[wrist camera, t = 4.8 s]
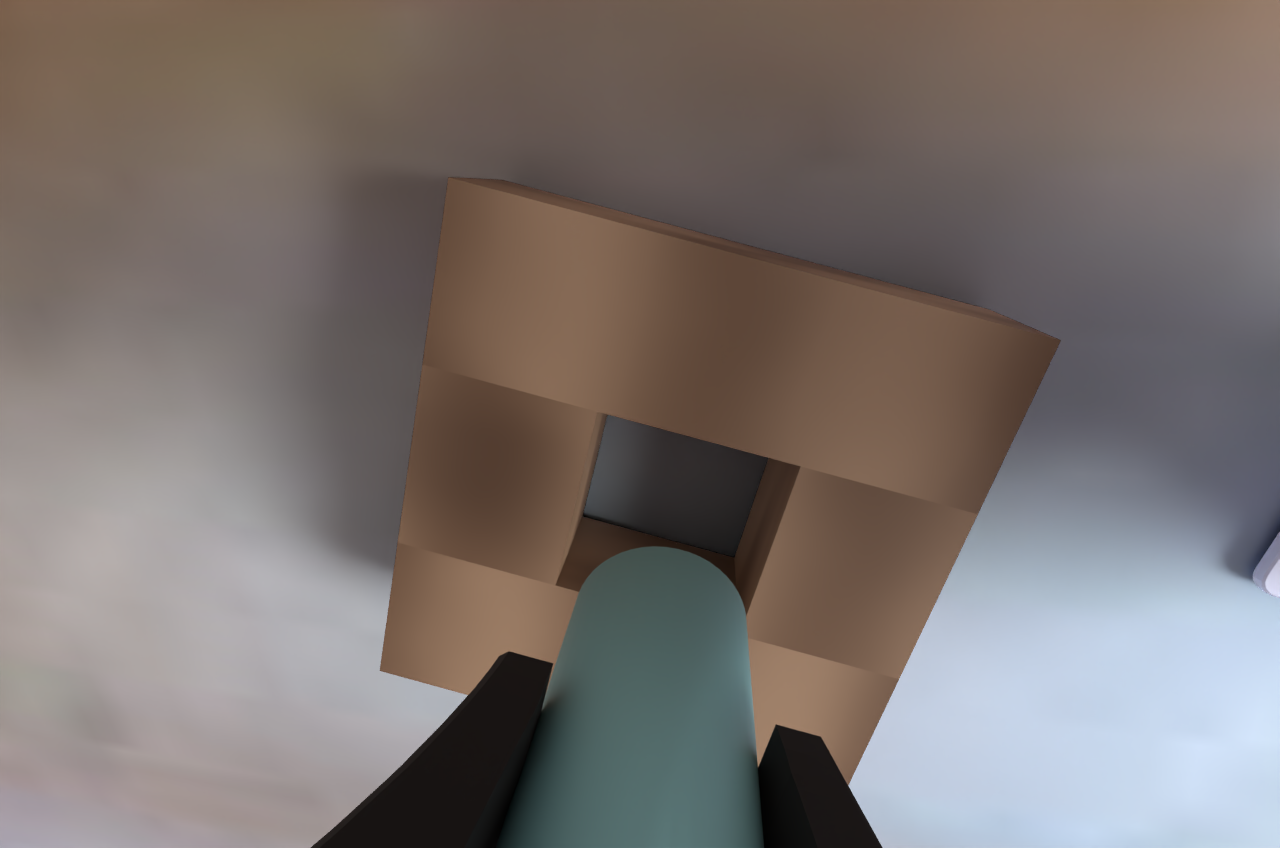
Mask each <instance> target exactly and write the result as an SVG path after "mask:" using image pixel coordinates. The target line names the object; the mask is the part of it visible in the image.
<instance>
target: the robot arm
mask: <svg viewBox="0 0 1280 848" xmlns="http://www.w3.org/2000/svg"><path fill="white" fill-rule="evenodd" d="M1253 581H1254V583H1255V584H1256V585H1257V587H1259V588H1260V589H1262V590H1263V591H1264V592H1266V593H1268V594H1270V595H1272V596H1275V597H1278V598H1280V532H1279V533H1278V535H1277V536H1276V538H1275V539H1274V541H1273V542H1272V544H1271V545H1270V547H1269V548H1268V550H1267V551H1266V553H1265V554H1264V556H1263V557H1262V559H1261V560H1260V562H1259V563H1258V565H1257V566H1256V568H1255V570H1254V573H1253ZM552 667H553V663H550V662H547V661H543V660H539V659H536V658H532V657H528V656H525V655H521V654H517V653H514V652H510V651H508V652H506V653H504V654H502V655H500V656H499V657H498V658H497V660H496V661H495V662H494V664H493V665H492V667H491V668H490V669H489V671H488V672H487V673H486V674H485V676H484V677H483V678H482V679H481V681H480V682H479V683H478V684H477V686H476V687H475V688H474V689H473V690H472V691H471V693H470V694H469V695H468V696H467V697H466V698H465V700H464V701H463V702H462V703H461V704H460V705H459V706H458V707H457V708H456V710H455V711H454V712H453V713H452V714H451V715H450V716H449V717H448V718H447V719H446V721H445V722H444V723H443V724H442V725H441V726H440V727H439V728H438V729H437V730H436V731H435V732H434V733H433V734H432V735H431V736H430V737H429V738H428V739H427V740H426V741H425V742H424V743H423V744H422V745H421V746H420V747H419V748H418V749H417V750H416V751H415V752H414V753H413V754H412V755H411V756H410V757H409V758H408V759H407V760H406V761H405V762H404V764H403V765H402V766H400V767H399V768H398V769H397V770H396V771H395V772H394V773H393V774H392V775H391V776H390V777H389V778H388V779H387V780H386V781H385V782H384V783H383V784H381V785H380V786H379V787H378V788H377V789H376V790H375V791H374V792H373V793H372V794H370V795H369V796H368V797H367V798H366V799H365V800H364V801H363V802H362V803H361V804H360V805H358V806H357V807H356V808H355V809H354V810H353V811H352V812H351V813H350V814H349V815H347V816H346V817H345V818H344V819H343V820H342V821H341V822H340V823H339V824H338V825H336V826H335V827H334V828H333V829H332V830H331V831H330V832H329V833H327V834H326V835H325V836H324V837H323V838H322V839H320V840H319V841H318V842H317V843H316V844H314V845H313V846H312V847H311V848H496V845H497V842H498V839H499V836H500V833H501V830H502V826H503V823H504V820H505V817H506V814H507V811H508V808H509V805H510V803H511V800H512V797H513V794H514V792H515V789H516V786H517V784H518V781H519V778H520V775H521V773H522V769H523V766H524V763H525V760H526V757H527V754H528V751H529V748H530V745H531V742H532V739H533V735H534V732H535V729H536V726H537V723H538V720H539V717H540V714H541V711H542V707H543V703H544V699H545V695H546V691H547V687H548V683H549V679H550V675H551V671H552ZM758 775H759V788H760V801H761V814H762V827H763V840H764V848H882V846H881V844H880V842H879V841H878V839H877V837H876V835H875V833H874V832H873V830H872V828H871V826H870V824H869V823H868V821H867V819H866V817H865V815H864V814H863V812H862V810H861V808H860V806H859V805H858V803H857V801H856V799H855V797H854V796H853V794H852V792H851V790H850V788H849V786H848V785H847V783H846V781H845V779H844V777H843V775H842V774H841V772H840V770H839V768H838V766H837V765H836V763H835V761H834V759H833V757H832V755H831V754H830V752H829V750H828V748H827V746H826V745H825V743H824V741H823V739H822V738H821V736H817V735H813V734H810V733H806V732H802V731H799V730H795V729H791V728H788V727H784V726H780V725H777V724H776V725H775V727H774V730H773V732H772V735H771V737H770V740H769V742H768V745H767V747H766V749H765V752H764V754H763V757H762V759H761V762H760V764H759V766H758Z"/></svg>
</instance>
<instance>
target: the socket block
mask: <svg viewBox="0 0 1280 848" xmlns="http://www.w3.org/2000/svg"><path fill="white" fill-rule="evenodd" d="M1060 341H1061V340H1059V339H1057V338H1054V337H1052V336H1050V335H1047V334H1045V333H1043V332H1040V331H1038V330H1036V329H1033V328H1031V327H1029V326H1026V325H1024V324H1022V323H1019V322H1017V321H1015V320H1012V319H1010V318H1008V317H1005V316H1003V315H1001V314H998V313H996V312H994V311H991V310H989V309H986V308H982V307H978V306H974V305H970V304H967V303H963V302H959V301H955V300H952V299H948V298H944V297H940V296H937V295H933V294H929V293H925V292H922V291H918V290H914V289H910V288H907V287H903V286H899V285H895V284H892V283H888V282H884V281H880V280H876V279H873V278H869V277H865V276H861V275H858V274H854V273H850V272H846V271H843V270H839V269H835V268H831V267H828V266H824V265H820V264H816V263H813V262H809V261H805V260H801V259H797V258H794V257H790V256H786V255H782V254H779V253H775V252H771V251H767V250H764V249H760V248H756V247H752V246H749V245H745V244H741V243H737V242H734V241H730V240H726V239H722V238H719V237H715V236H711V235H707V234H703V233H700V232H696V231H692V230H688V229H685V228H681V227H677V226H673V225H670V224H666V223H662V222H658V221H655V220H651V219H647V218H643V217H640V216H636V215H632V214H628V213H625V212H621V211H617V210H613V209H609V208H606V207H602V206H598V205H594V204H591V203H587V202H583V201H579V200H576V199H572V198H568V197H564V196H561V195H557V194H553V193H549V192H546V191H542V190H538V189H534V188H531V187H527V186H523V185H519V184H515V183H512V182H508V181H504V180H494V179H473V178H453V177H448V184H447V191H446V198H445V205H444V212H443V220H442V227H441V234H440V241H439V248H438V256H437V263H436V270H435V277H434V284H433V292H432V299H431V306H430V313H429V320H428V328H427V335H426V342H425V349H424V356H423V364H422V371H421V378H420V385H419V392H418V400H417V407H416V414H415V421H414V428H413V436H412V443H411V450H410V457H409V464H408V471H407V479H406V486H405V493H404V500H403V507H402V515H401V522H400V529H399V536H398V543H397V551H396V558H395V565H394V572H393V579H392V587H391V594H390V601H389V608H388V615H387V623H386V630H385V637H384V644H383V651H382V659H381V666H380V671H383V672H386V673H390V674H394V675H397V676H401V677H404V678H408V679H412V680H415V681H419V682H423V683H426V684H430V685H434V686H437V687H441V688H444V689H448V690H452V691H455V692H459V693H463V694H466V695H469V694H470V693H471V691H472V690H473V689H474V688H475V687H476V686H477V684H478V683H479V682H480V681H481V679H482V678H483V677H484V676H485V674H486V673H487V672H488V671H489V669H490V668H491V667H492V665H493V664H494V662H495V661H496V660H497V658H498V657H499V656H500V655H502V654H504V653H506V652H508V651H510V652H514V653H517V654H521V655H525V656H528V657H532V658H536V659H539V660H543V661H547V662H550V663H553V667H552V671H551V675H550V679H551V676H552V673H553V670H554V667H555V664H556V661H557V658H558V655H559V652H560V649H561V646H562V643H563V640H564V636H565V633H566V630H567V627H568V624H569V621H570V618H571V615H572V612H573V609H574V606H575V603H576V600H577V597H578V594H579V591H580V589H581V587H582V585H583V583H584V582H585V580H586V579H587V577H588V576H589V575H590V574H591V573H592V571H593V570H594V569H596V568H597V567H598V566H599V565H600V564H601V563H603V562H604V561H606V560H607V559H609V558H611V557H613V556H615V555H617V554H619V553H621V552H625V551H628V550H631V549H636V548H641V547H652V546H656V547H669V548H676V549H680V550H683V551H687V552H690V553H692V554H695V555H697V556H700V557H701V558H703V559H705V560H707V561H709V562H710V563H712V564H713V565H714V566H716V567H717V568H718V569H720V570H721V571H722V572H723V573H724V574H725V575H726V576H727V577H728V578H729V580H730V581H731V582H732V583H733V584H734V586H735V588H736V589H737V591H738V593H739V595H740V597H741V599H742V602H743V605H744V608H745V612H746V621H747V634H748V647H749V660H750V673H751V686H752V698H753V711H754V724H755V737H756V750H757V763H758V766H759V764H760V762H761V759H762V757H763V754H764V752H765V749H766V747H767V745H768V742H769V740H770V737H771V735H772V732H773V730H774V727H775V725H776V724H777V725H780V726H784V727H788V728H791V729H795V730H799V731H802V732H806V733H810V734H813V735H817V736H821V738H822V739H823V741H824V743H825V745H826V746H827V748H828V750H829V752H830V754H831V755H832V757H833V759H834V761H835V763H836V765H837V766H838V768H839V770H840V772H841V774H842V775H843V777H844V779H845V781H846V783H847V785H849V783H850V781H851V778H852V776H853V774H854V772H855V770H856V768H857V766H858V764H859V762H860V760H861V758H862V755H863V753H864V751H865V749H866V747H867V745H868V743H869V741H870V739H871V737H872V735H873V732H874V730H875V728H876V726H877V724H878V722H879V720H880V718H881V716H882V714H883V712H884V709H885V707H886V705H887V703H888V701H889V699H890V697H891V695H892V693H893V691H894V689H895V686H896V684H897V682H898V680H899V678H900V676H901V674H902V672H903V670H904V668H905V666H906V663H907V661H908V659H909V657H910V655H911V653H912V651H913V649H914V647H915V645H916V643H917V640H918V638H919V636H920V634H921V632H922V630H923V628H924V626H925V624H926V622H927V619H928V617H929V615H930V613H931V611H932V609H933V607H934V605H935V603H936V601H937V599H938V596H939V594H940V592H941V590H942V588H943V586H944V584H945V582H946V580H947V578H948V576H949V573H950V571H951V569H952V567H953V565H954V563H955V561H956V559H957V557H958V555H959V553H960V550H961V548H962V546H963V544H964V542H965V540H966V538H967V536H968V534H969V532H970V530H971V527H972V525H973V523H974V521H975V519H976V517H977V515H978V513H979V511H980V509H981V507H982V504H983V502H984V500H985V498H986V496H987V494H988V492H989V490H990V488H991V486H992V484H993V481H994V479H995V477H996V475H997V473H998V471H999V469H1000V467H1001V465H1002V463H1003V460H1004V458H1005V456H1006V454H1007V452H1008V450H1009V448H1010V446H1011V444H1012V442H1013V440H1014V437H1015V435H1016V433H1017V431H1018V429H1019V427H1020V425H1021V423H1022V421H1023V419H1024V417H1025V414H1026V412H1027V410H1028V408H1029V406H1030V404H1031V402H1032V400H1033V398H1034V396H1035V394H1036V391H1037V389H1038V387H1039V385H1040V383H1041V381H1042V379H1043V377H1044V375H1045V373H1046V371H1047V368H1048V366H1049V364H1050V362H1051V360H1052V358H1053V356H1054V354H1055V352H1056V350H1057V348H1058V345H1059V343H1060ZM607 415H612V416H615V417H619V418H623V419H626V420H630V421H634V422H637V423H641V424H645V425H649V426H652V427H656V428H660V429H663V430H667V431H671V432H675V433H678V434H682V435H686V436H689V437H693V438H697V439H701V440H704V441H708V442H712V443H715V444H719V445H723V446H727V447H730V448H734V449H738V450H741V451H745V452H749V453H753V454H756V455H760V456H764V457H767V458H768V461H767V464H766V467H765V470H764V473H763V476H762V478H761V481H760V484H759V487H758V490H757V493H756V496H755V499H754V502H753V505H752V508H751V511H750V513H749V516H748V519H747V522H746V525H745V528H744V531H743V534H742V537H741V540H740V543H739V545H738V548H737V551H736V554H735V557H730V556H726V555H722V554H719V553H715V552H711V551H708V550H704V549H700V548H697V547H693V546H689V545H686V544H682V543H678V542H675V541H671V540H667V539H664V538H660V537H656V536H652V535H649V534H645V533H641V532H638V531H634V530H630V529H627V528H623V527H619V526H616V525H612V524H608V523H605V522H601V521H597V520H593V519H590V518H586V517H583V513H584V509H585V505H586V500H587V496H588V492H589V488H590V484H591V480H592V476H593V472H594V468H595V464H596V460H597V456H598V452H599V448H600V444H601V439H602V435H603V431H604V427H605V423H606V419H607ZM550 679H549V682H550ZM548 685H549V683H548ZM547 689H548V687H547ZM546 692H547V691H546Z"/></svg>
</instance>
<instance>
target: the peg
mask: <svg viewBox="0 0 1280 848" xmlns="http://www.w3.org/2000/svg"><path fill="white" fill-rule="evenodd" d="M496 848H764V840H763V827H762V814H761V801H760V788H759V775H758V763H757V750H756V737H755V724H754V711H753V698H752V686H751V673H750V660H749V647H748V634H747V621H746V612H745V608H744V605H743V602H742V599H741V597H740V595H739V593H738V591H737V589H736V588H735V586H734V584H733V583H732V582H731V581H730V580H729V578H728V577H727V576H726V575H725V574H724V573H723V572H722V571H721V570H720V569H718V568H717V567H716V566H714V565H713V564H712V563H710V562H709V561H707V560H705V559H703V558H701V557H700V556H697V555H695V554H692V553H690V552H687V551H683V550H680V549H676V548H669V547H656V546H652V547H641V548H636V549H631V550H628V551H625V552H621V553H619V554H617V555H615V556H613V557H611V558H609V559H607V560H606V561H604V562H603V563H601V564H600V565H599V566H598V567H597V568H596V569H594V570H593V571H592V573H591V574H590V575H589V576H588V577H587V579H586V580H585V582H584V583H583V585H582V587H581V589H580V591H579V594H578V597H577V600H576V603H575V606H574V609H573V612H572V615H571V618H570V621H569V624H568V627H567V630H566V633H565V636H564V640H563V643H562V646H561V649H560V652H559V655H558V658H557V661H556V664H555V667H554V670H553V673H552V676H551V679H550V682H549V685H548V689H547V692H546V695H545V699H544V703H543V707H542V711H541V714H540V717H539V720H538V723H537V726H536V729H535V732H534V735H533V739H532V742H531V745H530V748H529V751H528V754H527V757H526V760H525V763H524V766H523V769H522V773H521V775H520V778H519V781H518V784H517V786H516V789H515V792H514V794H513V797H512V800H511V803H510V805H509V808H508V811H507V814H506V817H505V820H504V823H503V826H502V830H501V833H500V836H499V839H498V842H497V845H496Z"/></svg>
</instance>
